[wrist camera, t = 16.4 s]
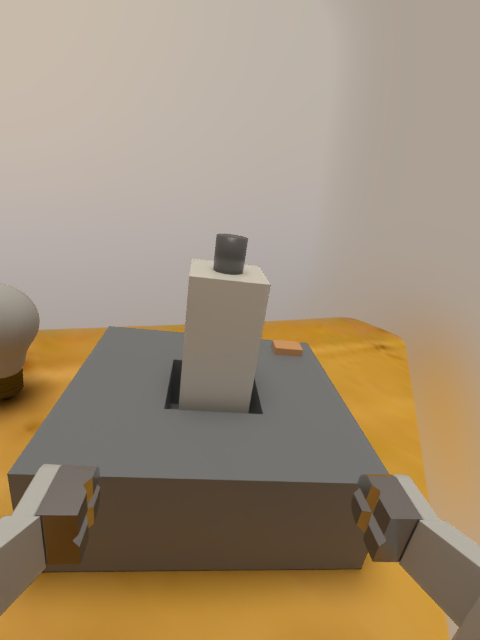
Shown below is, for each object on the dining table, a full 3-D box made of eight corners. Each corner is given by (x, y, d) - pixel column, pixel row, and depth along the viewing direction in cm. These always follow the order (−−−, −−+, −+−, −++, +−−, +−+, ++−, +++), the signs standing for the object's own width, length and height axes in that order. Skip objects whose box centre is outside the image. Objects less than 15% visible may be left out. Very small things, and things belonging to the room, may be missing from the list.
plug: (174, 452, 22) (192, 237, 17) (179, 410, 26) (194, 227, 21) (240, 455, 22) (277, 248, 17) (235, 413, 27) (263, 235, 21)
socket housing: (23, 571, 17) (5, 463, 14) (109, 389, 31) (109, 320, 29) (361, 568, 19) (399, 475, 16) (293, 400, 34) (308, 337, 31)
